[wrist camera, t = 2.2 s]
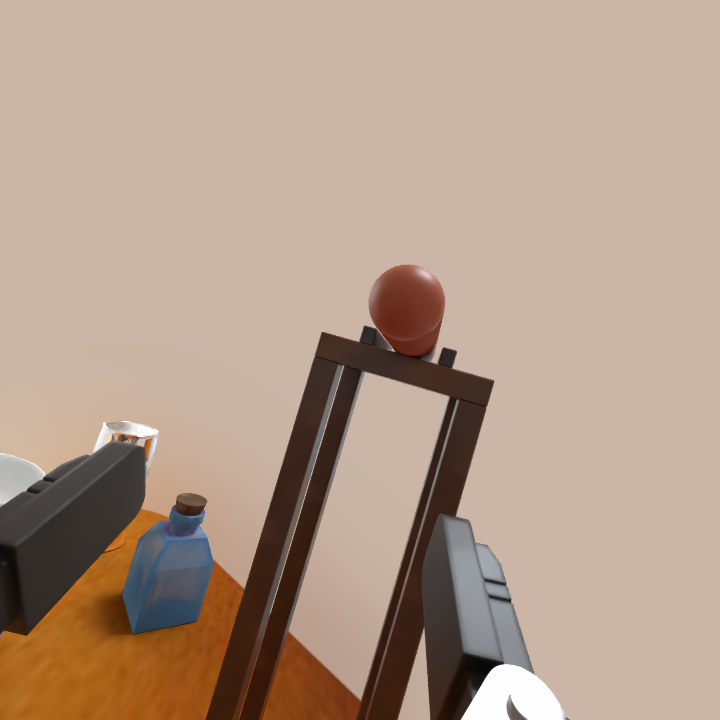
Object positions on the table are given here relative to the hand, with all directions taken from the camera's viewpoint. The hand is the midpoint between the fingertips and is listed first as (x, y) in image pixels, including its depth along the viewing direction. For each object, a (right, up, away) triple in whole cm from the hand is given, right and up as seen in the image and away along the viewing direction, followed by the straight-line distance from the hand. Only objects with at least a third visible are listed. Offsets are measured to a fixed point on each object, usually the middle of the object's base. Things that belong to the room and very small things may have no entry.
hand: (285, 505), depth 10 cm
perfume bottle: (-20, -23, +32) cm, 44 cm away
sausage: (+5, +4, +14) cm, 15 cm away
